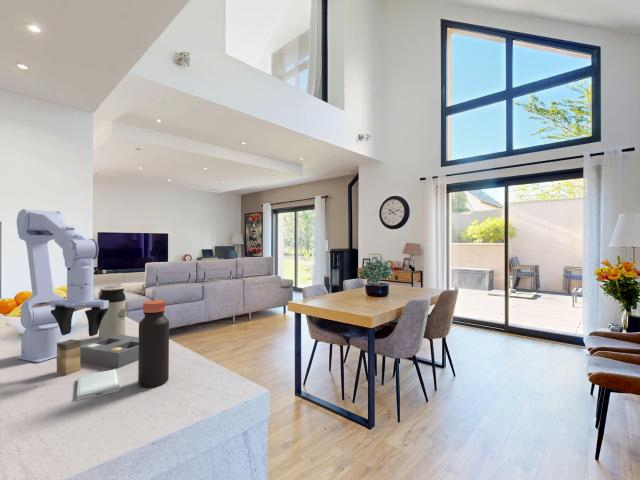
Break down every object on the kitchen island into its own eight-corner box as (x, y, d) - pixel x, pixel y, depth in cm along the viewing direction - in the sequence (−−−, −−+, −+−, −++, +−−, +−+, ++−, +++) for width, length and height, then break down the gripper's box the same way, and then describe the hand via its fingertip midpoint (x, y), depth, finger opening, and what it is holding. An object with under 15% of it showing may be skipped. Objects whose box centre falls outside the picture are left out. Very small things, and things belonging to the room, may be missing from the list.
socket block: (77, 360, 95) (78, 345, 95) (118, 346, 107) (118, 333, 107) (118, 367, 90) (118, 352, 90) (156, 352, 102) (156, 339, 102)
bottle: (169, 374, 85) (170, 298, 85) (167, 385, 79) (168, 303, 79) (140, 378, 83) (141, 300, 83) (135, 390, 77) (136, 305, 77)
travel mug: (93, 339, 114) (93, 288, 114) (113, 333, 122) (114, 285, 122) (110, 341, 112) (111, 289, 112) (130, 335, 119) (130, 286, 119)
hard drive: (78, 376, 82) (76, 395, 72) (116, 368, 86) (120, 386, 76) (77, 382, 82) (76, 403, 72) (116, 375, 86) (120, 393, 76)
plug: (56, 373, 86) (56, 343, 86) (70, 368, 89) (71, 339, 89) (66, 375, 84) (66, 344, 84) (80, 370, 88) (80, 340, 88)
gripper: (40, 285, 83) (40, 338, 83) (95, 286, 83) (94, 340, 83) (64, 281, 90) (63, 330, 91) (114, 283, 90) (113, 332, 90)
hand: (79, 334), depth 87 cm, fingers open, 7 cm apart
